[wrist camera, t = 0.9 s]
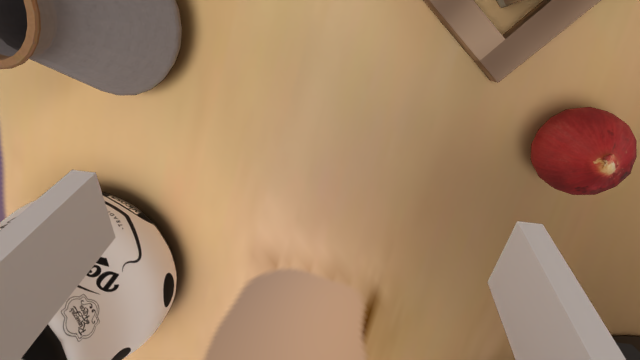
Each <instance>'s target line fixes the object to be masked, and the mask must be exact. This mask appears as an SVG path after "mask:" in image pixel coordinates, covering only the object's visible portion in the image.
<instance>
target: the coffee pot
mask: <svg viewBox="0 0 640 360" xmlns="http://www.w3.org/2000/svg"><path fill="white" fill-rule="evenodd" d="M181 34H182V26H181V19H180V12H179V8H178V5H177V3H176V0H0V69H9V68H14V67H16V66H19V65H21V64H23V63H25V62H26V61H27V60H28V59H31V60H33V61H36V62H38V63H40V64H42V65H45V66H47V67H49V68H51V69H54V70H56V71H58V72H60V73H63V74H65V75H67V76H69V77H72V78H74V79H76V80H78V81H81V82H83V83H85V84H87V85H90V86H92V87H94V88H96V89H99V90H101V91H104V92H108V93H112V94H115V95H137V94H140V93H142V92H145V91H148V90H150V89H152V88H153V87H155V86H156V85H157V84H158V83H160V82H161V81H162V80H163V79H164V78H165V77H166V75H167V74H168V72H169V71H170V69H171V68H172V67H173V65H174V64H175V62H176V59H177V56H178V53H179V50H180V47H181Z"/></svg>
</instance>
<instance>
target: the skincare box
mask: <svg viewBox="0 0 640 360" xmlns="http://www.w3.org/2000/svg"><path fill="white" fill-rule="evenodd" d="M496 1H497V2H498V4H499V6H500V7H501V8H502V7H505V6H508V5H511V4H513V3H516V2H519V1H522V0H496Z"/></svg>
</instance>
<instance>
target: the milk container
mask: <svg viewBox="0 0 640 360" xmlns="http://www.w3.org/2000/svg"><path fill="white" fill-rule="evenodd" d="M102 195H103V198H104V201H105V204H106V208H107V211H108V214H109V217H110V221H111V224H112V227H113V230H114V234H115V237H116V238H115V239H114V240H113V242H112V243H111V244H110V245H109V247H108V248H107V249H106V250H105V252H104V253H103V254H102V256H101V257H100V258H99V259H98V261H97V262H96V263H95V265H94V266H93V267H92V268H91V270H90V271H89V272H88V273H87V275H86V276H85V277H84V279H83V280H82V281H81V282H80V284H79V285H78V286H77V288H76V289H75V290H74V291H73V293H72V294H71V295H70V296H69V298H68V299H67V300H66V302H65V303H64V304H63V305H62V307H61V308H60V309H59V310H58V312H57V313H56V314H55V316H54V317H53V318H52V319H51V321H50V322H49V323H48V325H47V326H46V327H45V328H44V330H43V331H42V332H41V333H40V335H39V336H38V337H37V339H36V340H35V341H34V342H33V344H32V345H31V346H30V348H29V349H28V350H27V351H26V353H25V354H24V355H23V356H22V358H21V359H20V360H122V359H123V358H125V357H126V356H128V355H129V354H131V353H132V352H134V351H135V350H137V349H138V348H139V347H140V346H142V345H143V344H144V343H145V342H146V341H147V340H148V339H149V338H150V337H151V336H152V335H153V334H154V332H155V331H156V330H157V329H158V327H159V326H160V324H161V323H162V322H163V320H164V318H165V316H166V315H167V313H168V311H169V309H170V307H171V305H172V303H173V300H174V297H175V292H176V282H177V271H176V266H175V262H174V258H173V255H172V252H171V249H170V247H169V245H168V243H167V242H166V240H165V238H164V237H163V235H162V233H161V232H160V230H159V229H158V228H157V226H156V225H155V224H154V223H153V222H152V221H151V220H150V219H149V218H148V217H147V216H146V215H145V214H144V213H142V212H141V211H140V210H139V209H138V208H136V207H135V206H133V205H132V204H130V203H128V202H126V201H124V200H122V199H120V198H118V197H116V196H114V195H111V194H107V193H103V192H102ZM35 201H36V200H35ZM35 201H33V202H31V203H29V204H27V205H25V206H23V207H21V208H20V209H18V210H16V211H15V212H14V213H12V214H11V215H9V216H8V217H7V218H5V219H4V220H3V221H2V222H0V230H2V229H3V228H4V227H5V226H6V225H8V224H9V223H10V222H11V221H12V220H13V219H15V218H16V217H17V216H18V215H19V214H21V213H22V212H23V211H24V210H25V209H26V208H28V207H29V206H30V205H31V204H32V203H34V202H35Z"/></svg>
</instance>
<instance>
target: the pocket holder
mask: <svg viewBox="0 0 640 360" xmlns="http://www.w3.org/2000/svg"><path fill="white" fill-rule="evenodd" d="M423 1H424V2H425V3H426V4H427V5H428V7H429V8H430V9H431V10H432V11H433V13H434V14H435V15H436V16H437V17H438V19H439V20H440V21H441V22H442V23H443V25H444V26H445V27H446V28H447V29H448V31H449V32H450V33H451V34H452V35H453V37H454V38H455V39H456V40H457V41H458V43H459V44H460V45H461V46H462V47H463V48H464V50H465V51H466V52H467V53H468V54H469V56H470V57H471V58H472V59H473V60H474V62H475V63H476V64H477V65H478V66H479V68H480V69H481V70H482V71H483V72H484V74H485V75H486V76H487V77H488V78H489V80H491V81H494V82H499V81H501V80H502V79H503V78H504V77H506V76H507V75H508V74H509V73H511V72H512V71H513V70H514V69H516V68H517V67H518V66H519V65H521V64H522V63H523V62H524V61H526V60H527V59H528V58H529V57H531V56H532V55H533V54H534V53H536V52H537V51H538V50H539V49H541V48H542V47H543V46H544V45H546V44H547V43H548V42H549V41H551V40H552V39H553V38H554V37H556V36H557V35H558V34H559V33H561V32H562V31H563V30H564V29H566V28H567V27H568V26H569V25H571V24H572V23H573V22H574V21H576V20H577V19H578V18H579V17H581V16H582V15H583V14H584V13H586V12H587V11H588V10H589V9H591V8H592V7H593V6H594V5H596V4H597V3H598V2H599V1H601V0H544V1H543V2H541V3H540V4H539V5H538V6H537V7H535V8H534V9H533V10H532V11H531V12H530V13H528V14H527V15H526V16H525V17H524V18H523V19H521V20H520V21H519V22H518V23H517V24H515V25H514V26H513V27H512V28H511V29H510V30H508V31H507V32H506V33H505V34H504V35H501V33H500V32H499V31H498V30H497V28H496V27H495V26H494V25H493V24H492V22H491V21H490V20H489V19H488V17H487V16H486V15H485V14H484V13H483V11H482V10H481V9H480V8H479V6H478V5H477V4H476V3H475V2H474V0H423Z"/></svg>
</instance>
